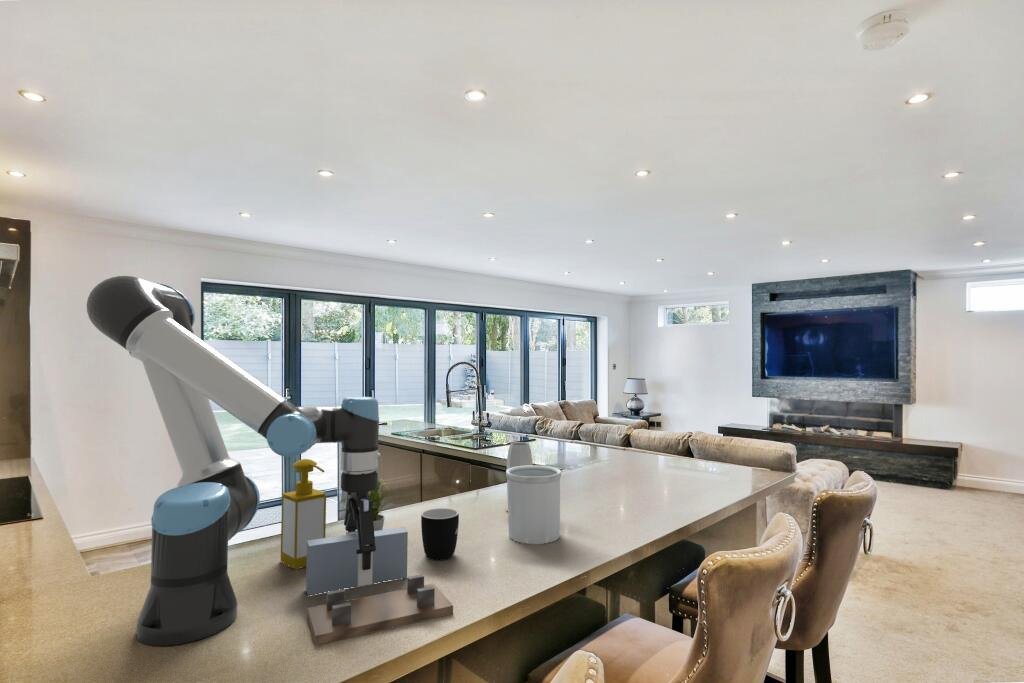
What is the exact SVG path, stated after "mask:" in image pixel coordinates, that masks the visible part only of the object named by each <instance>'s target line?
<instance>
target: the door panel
mask: <svg viewBox="0 0 1024 683" xmlns="http://www.w3.org/2000/svg"><path fill="white" fill-rule="evenodd" d="M374 535H375V547H376V550H375V551H373V568H372V584H374V583H378V582H383V581H388V580H395V579H400V580H402V579H401V578H406V579H407V577H408V544H409V543H408V542H409V540H408V537H409V536H408V535H409V534H408V531H407V529H406V528H404V526H402V527H395V528H388V529H382V530H379V531H374ZM365 546H369V545H365ZM358 549H359V541H358V534H351V535H346V534H344V535H337V536H331V537H330V536H329V537H325V538H322V539H315V540H308V541H307V566H306V571H305V574H306V575H305V577H306V578H305V590H307V591H306V595H307V594H308V595H307V597H308V596H309V597H311V596H310V595H315V594H319V593H324V592H328V591H334V590H339V589H344V588H351V587H357V586H358V554H356V551H357V550H358ZM395 581H396V580H395ZM374 585H375V584H374ZM315 596H316V595H315Z"/></svg>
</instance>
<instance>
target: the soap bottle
mask: <svg viewBox="0 0 1024 683" xmlns="http://www.w3.org/2000/svg"><path fill="white" fill-rule="evenodd" d="M317 464H318V462H316V461H314V460H312V459H310V458H302V459H299V460H297V461H296V462H294V463H293V464H292V465H291V466H292V467H293V468H295V472H296V473H298V474H299V473H300V481H299V480H298V481H297V482H296V483H295V490H294V491H293V490H292V491H289V492H282V493H281V495H282V496H281V522H280V523H281V525H280V526H281V528H280V533H281V534H280V562H281V561H282V562H284V563H285V564H284V563H283V564H284V565H286V564H287V565H286V566H288V565H289V566H290V568H291V567H292V568H291V569H293V568H294V569H295V570H297V568H299V569H301V568H300V567H302V568H304V567H303V566H307V541H308V540H315V539H322V538H326V530H327V529H326V528H327V526H326V524H327V520H326V519H327V516H326V515H327V514H326V513H327V493H326V492H324V491H321V490H318V489H316V488H313V484H314V483H313V480H309V473H312V472H313V471H314V468H316V469H318V471H320V472H321V473H325V470H324V469H323V468H322V467H320V466H318V465H317ZM282 562H281V563H282ZM289 566H288V567H289ZM294 569H293V570H294Z"/></svg>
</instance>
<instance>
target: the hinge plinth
mask: <svg viewBox="0 0 1024 683" xmlns="http://www.w3.org/2000/svg"><path fill="white" fill-rule="evenodd" d="M406 579H407V580H406V581H407V585H406V586H407V587H406V588H403V589H399V590H394V591H388V592H387V591H386V592H383V593H377V594H373V595H367V596H362V597H358V598H353V599H352V598H351V599H347V600H346V590H344V589H340V590H334V591H329V592H327V593H326V604H322V605H321V604H320V605H316V606H312V607H308V608H307V619H308V624H309V626H310V630H311V634H312V637H313V641H314V645H315V646H318V645H322V644H327V643H330V642H331V643H332V642H335V641H340V640H345V639H348V638H353V637H357V636H360V635H361V636H362V635H366V634H370V633H374V632H379V631H384V630H388V629H393V628H397V627H401V626H406V625H410V624H414V623H419V622H423V621H428V620H432V619H436V618H437V619H438V618H441V617H446V616H449V615H453V614H454V605H453V604H452V602H451V601H450V600H449V599H448V598H447V597H446V595H445V594H444V593H443V592H442V591H441V589H439V588H438V587H437V586H436V584H435V583H434V582H433V583H428V584H425V576H424V574H423V573H422V574H415V575H410V576H407V578H406Z"/></svg>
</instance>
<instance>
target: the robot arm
mask: <svg viewBox="0 0 1024 683" xmlns="http://www.w3.org/2000/svg"><path fill="white" fill-rule="evenodd" d="M86 313H87V315H88V316H87V317H88V319H89V320H90V322H91V323H92V325H93V326H94V327H95V328H96V329H97V330H98V331H99V332H101V334H103V335H104V336H106V337H107V338H109V339H110V340H111V341H113V342H115V343H117V344H118V345H119V346H120V347H122V348H124V349H125V350H126V351H128V352H129V356H130V357H132V358H134V359H136V360H138V361H140V362H142V365H143V368H144V370H145V373H146V375H147V378H148V381H149V385H150V387H151V389H152V392H153V395H154V398H155V401H156V404H157V406H158V409H159V412H160V415H161V417H162V421H163V424H164V425H165V428H166V430H167V431H166V432H167V434H168V437H169V439H170V442H171V445H172V448H173V451H174V454H175V457H176V459H177V461H178V464H179V467H180V470H181V472H182V474H181V475H182V476H181V478H180V480H179V481H178V484H176V487H174V488H171V489H169V490H166V491H164V492H163V493H162V494H160V495H159V496H158V497H157V498H156V500H155V501H154V504H153V508H152V510H153V511H152V515H151V518H150V522H151V553H150V554H151V555H150V556H151V560H150V561H151V562H150V563H151V564H150V585H149V586H150V587H149V590H148V591H147V592H148V593H147V594H146V596H145V600H144V603H143V605H142V607H141V610H140V612H139V616H138V619H137V621H136V633H135V634H136V635H137V636H136V639H137V638H138V639H139V640H140V641H141V642H140V641H139V640H138V639H137V640H138V641H139V642H140V643H142V642H143V643H142V644H145V645H149V646H161V647H163V646H164V647H165V646H173V645H182V644H186V643H191V642H195V641H200V640H201V639H204V638H207V637H209V636H212V635H214V634H216V633H219V632H221V631H222V630H224V629H226V628H227V627H228V626H230V625H231V624H232V623H233V622H234V621H235V620H236V618H237V616H238V600H237V597H236V594H235V592H234V587H233V585H232V582H231V580H230V576H229V573H228V563H229V562H228V560H229V559H228V558H229V557H228V556H229V541H231V540H232V538H233V537H235V536H236V535H237V534H238V533H240V532H241V531H243V530H244V529H245V528H246V527H248V525H249V524H250V523H251V522H252V521H253V518H254V517H255V515H257V512H258V509H259V506H260V499H261V497H260V496H261V495H260V492H259V488H258V485H257V484H256V483H255V481H253V479H252V478H250V477H248V476H247V475H245V472H244V470H243V467H242V464H241V462H240V461H238V460H236V459H233V458H231V457H230V455H229V451H228V449H227V447H226V444H225V442H224V439H223V436H222V433H221V430H220V428H219V425H218V422H217V418H216V417H215V414H214V412H213V411H214V410H213V408H212V405H211V403H210V401H212V403H214V404H216V405H217V406H219V407H220V408H221V409H223V410H224V411H226V412H227V413H229V414H230V415H231V416H233V417H234V418H235V419H237V420H239V421H240V422H241V423H243V424H245V425H246V426H247V427H249V428H250V429H252V430H253V431H254V432H256V433H257V434H259V435H260V436H262V437H263V438H264V439H265V440H266V442H267V445H268V446H269V448H270V449H271V451H272V452H274V453H275V454H276V455H278V456H281V457H284V458H287V457H289V458H290V457H295V456H299V455H302V454H304V453H306V452H307V451H308V450H310V449H311V448H313V446H314V445H316V444H326V443H327V444H328V443H329V444H331V443H334V444H335V443H336V444H337V443H341V450H340V470H341V471H342V472H341V473H340V489H341V491H343V492H345V493H347V494H346V497H347V498H346V500H347V502H345V503H346V504H345V511H344V512H345V513H344V522H343V525H344V528H345V531H346V532H345V535H351V534H358V541H359V549H358V550H357V551H356V554H358V588H361V587H360V586H363V587H366V586H365V585H368V586H371V585H370V584H372V568H373V551H375V550H376V547H375V535H374V524H373V512H372V504H373V501H372V500H370V499H368V493H370V491H372V490H375V489H376V488H377V487H378V481H379V472H378V470H377V469H378V467H379V461H378V460H379V459H378V458H380V457H381V456H382V454H381V453H380V452H379V434H380V433H379V431H380V430H379V429H380V416H379V414H380V413H379V401H378V399H377V398H376V397H373V396H346V397H344V398H343V399H342V401H341V405H339V406H332V407H331V406H327V407H326V406H295V404H292V403H291V402H290V401H288V400H287V399H286V398H284V396H281V395H280V394H278V393H277V392H276V391H274V390H273V389H272V388H271V387H268V386H267V385H266V384H264V383H263V382H261V380H259V379H257V378H256V377H254V376H253V375H251V373H249V372H248V371H246V370H244V369H243V368H242V367H240V366H239V365H238V364H236V363H235V362H233V361H232V360H230V359H229V358H228V357H226V356H225V355H224V354H222V353H221V352H219V351H218V350H216V349H215V348H214V347H212V346H211V345H209V344H208V343H207V342H206V341H204V340H203V339H201V338H199V337H198V336H197V335H195V333H194V329H193V326H194V324H195V322H196V321H195V320H196V319H195V318H196V314H195V313H196V312H195V309H194V306H193V304H192V302H191V300H190V299H189V298H188V297H187V296H186V295H184V294H183V293H182V292H180V291H178V290H177V289H175V288H174V287H171V286H170V285H166V284H163V283H158V282H157V283H155V282H153V281H149V280H145V279H142V278H140V277H136V276H133V275H132V276H131V275H117V276H114V277H113V276H112V277H109V278H106V279H104V280H102V281H101V282H99V283H97V284H96V285H95V286H94V288H92V289H91V291H90V293H89V295H88V297H87V301H86ZM209 400H210V401H209ZM365 545H369V546H365Z"/></svg>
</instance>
